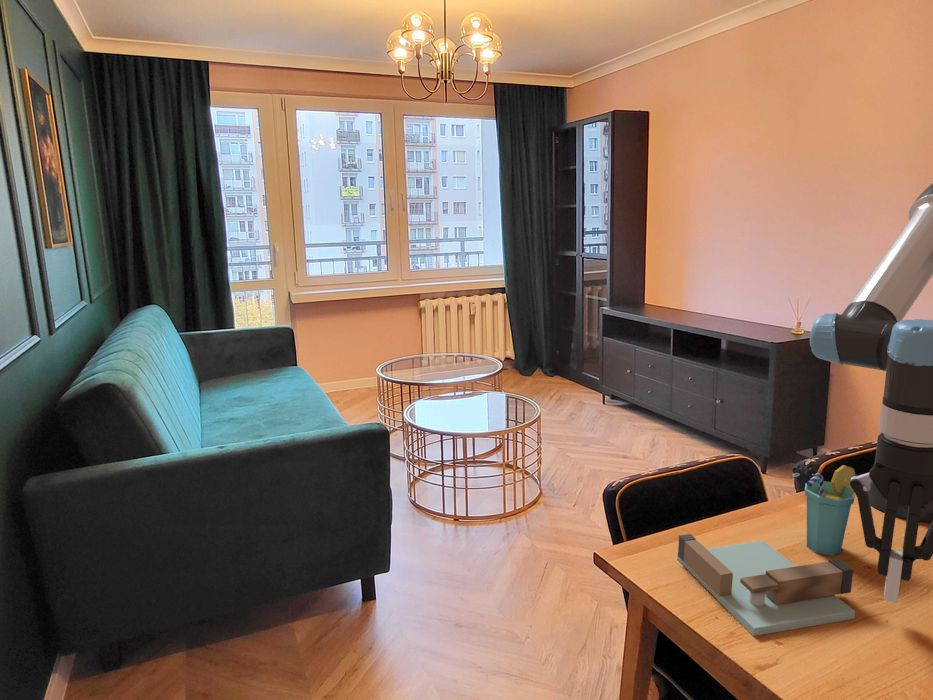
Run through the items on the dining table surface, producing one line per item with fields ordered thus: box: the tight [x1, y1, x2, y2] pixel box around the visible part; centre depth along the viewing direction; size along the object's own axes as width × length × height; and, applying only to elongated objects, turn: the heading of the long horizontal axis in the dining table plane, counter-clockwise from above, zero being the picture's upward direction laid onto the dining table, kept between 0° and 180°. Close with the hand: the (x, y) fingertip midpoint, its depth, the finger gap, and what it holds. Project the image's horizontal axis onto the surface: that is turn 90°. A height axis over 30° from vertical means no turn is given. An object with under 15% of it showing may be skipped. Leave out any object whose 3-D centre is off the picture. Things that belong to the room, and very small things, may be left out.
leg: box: [740, 558, 854, 604], centre depth 92 cm, size 16×3×4 cm, turn 101°
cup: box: [804, 464, 856, 557], centre depth 105 cm, size 14×8×15 cm, turn 127°
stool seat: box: [676, 533, 856, 637], centre depth 96 cm, size 16×20×5 cm
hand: (890, 596), depth 88 cm, fingers closed
